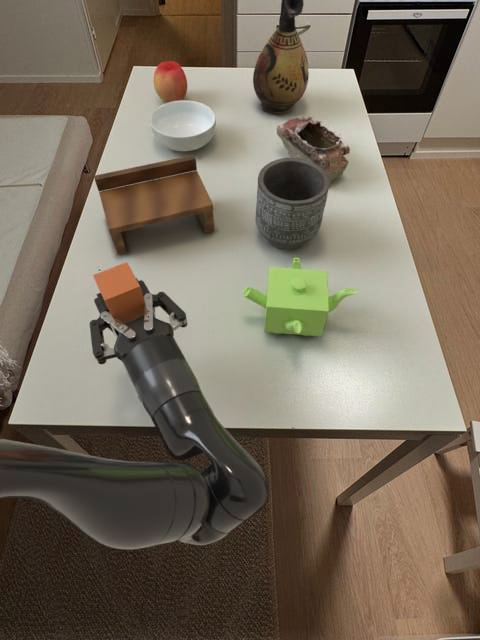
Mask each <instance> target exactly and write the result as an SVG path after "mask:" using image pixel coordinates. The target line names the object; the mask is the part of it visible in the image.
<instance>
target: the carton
mask: <svg viewBox="0 0 480 640" xmlns="http://www.w3.org/2000/svg"><path fill="white" fill-rule="evenodd" d="M92 277H93V280H94V282H95V283H96V286H97V288H98V291H99V293H101V295H102V297H103V299H104V301H105V303H106V305H107V307H108V309H109V312H110V314H111V315H112V316H113V317H115V318H117V319H119V320H120V321H121V322H122V323H125V322H128V321H132V320H135V319H136V318H138V317H139V316H142V315H144V303H145V300H144V297H143V294H142V290H141V287H140V285H139V283H138V281H139V280H138V281H137V279H138V278H137V277H136V276H135V273H134V272H133V271H132V269H131V266H130V265H129V263H128V262H127V261H126V262H123V263H121V264H118V265H116V266H113V267H110V268H108V269H105V270H101V271H100V272H98V273H95V274H93V275H92ZM136 278H137V279H136Z"/></svg>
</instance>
